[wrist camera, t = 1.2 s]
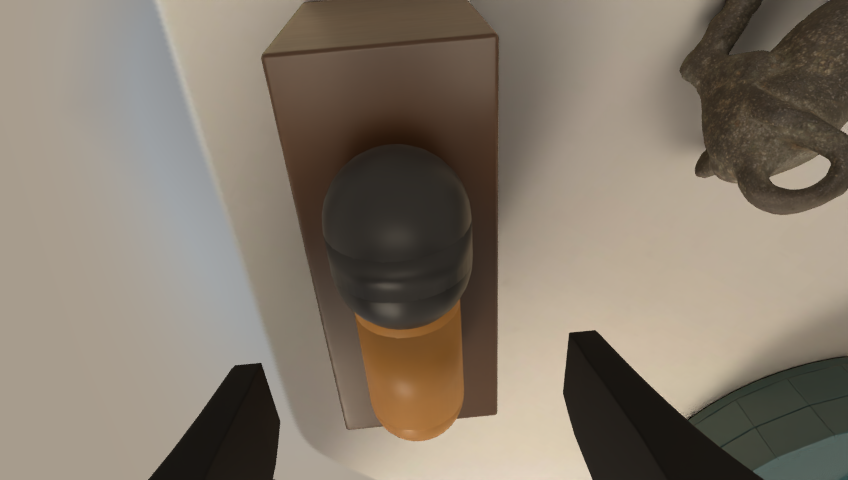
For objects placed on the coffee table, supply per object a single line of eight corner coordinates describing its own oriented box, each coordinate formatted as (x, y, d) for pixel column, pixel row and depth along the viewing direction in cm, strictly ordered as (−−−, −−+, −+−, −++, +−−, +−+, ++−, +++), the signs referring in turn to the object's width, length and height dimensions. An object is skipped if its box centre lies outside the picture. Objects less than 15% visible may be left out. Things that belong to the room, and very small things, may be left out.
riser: (468, 286, 23) (497, 415, 18) (355, 297, 23) (346, 431, 17) (458, -12, 17) (499, 33, 11) (302, 1, 17) (259, 54, 11)
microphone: (317, 128, 12) (298, 195, 9) (459, 115, 12) (481, 178, 9) (366, 392, 17) (363, 488, 14) (468, 382, 17) (486, 475, 14)
